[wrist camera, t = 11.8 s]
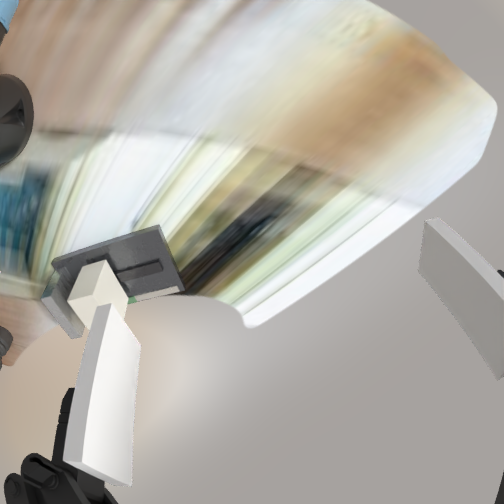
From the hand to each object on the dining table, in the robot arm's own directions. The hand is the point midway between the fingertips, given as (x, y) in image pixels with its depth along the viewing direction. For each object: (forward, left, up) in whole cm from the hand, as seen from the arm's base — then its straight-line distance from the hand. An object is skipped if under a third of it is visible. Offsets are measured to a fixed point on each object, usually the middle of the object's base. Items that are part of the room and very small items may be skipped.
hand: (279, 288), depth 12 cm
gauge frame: (+4, -31, -35) cm, 47 cm away
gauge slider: (+4, -33, -32) cm, 46 cm away
